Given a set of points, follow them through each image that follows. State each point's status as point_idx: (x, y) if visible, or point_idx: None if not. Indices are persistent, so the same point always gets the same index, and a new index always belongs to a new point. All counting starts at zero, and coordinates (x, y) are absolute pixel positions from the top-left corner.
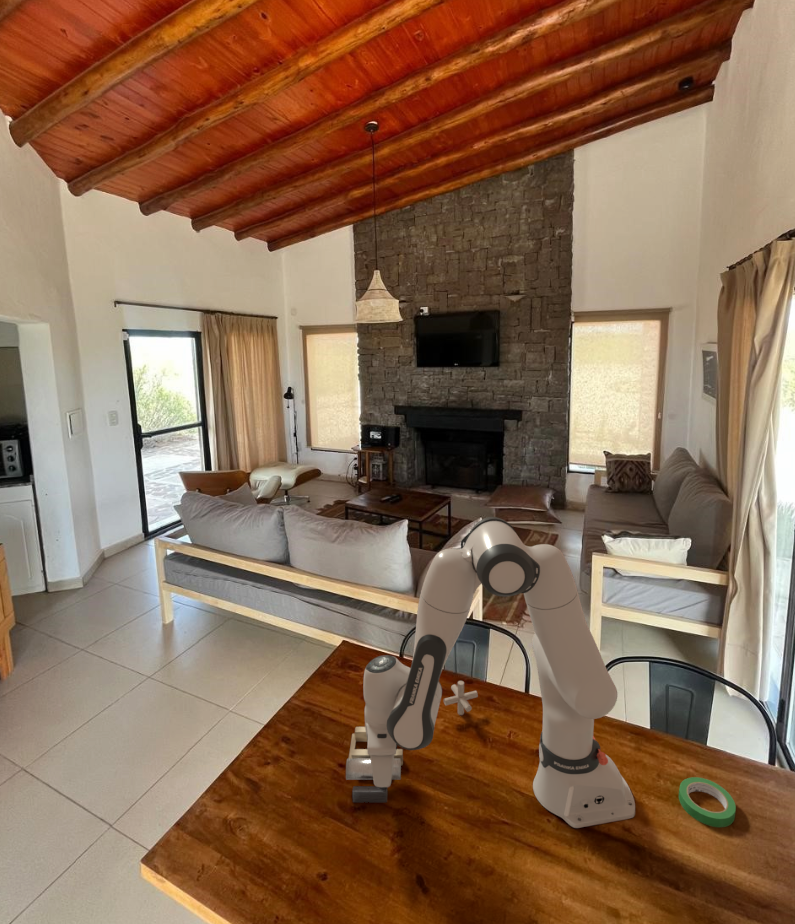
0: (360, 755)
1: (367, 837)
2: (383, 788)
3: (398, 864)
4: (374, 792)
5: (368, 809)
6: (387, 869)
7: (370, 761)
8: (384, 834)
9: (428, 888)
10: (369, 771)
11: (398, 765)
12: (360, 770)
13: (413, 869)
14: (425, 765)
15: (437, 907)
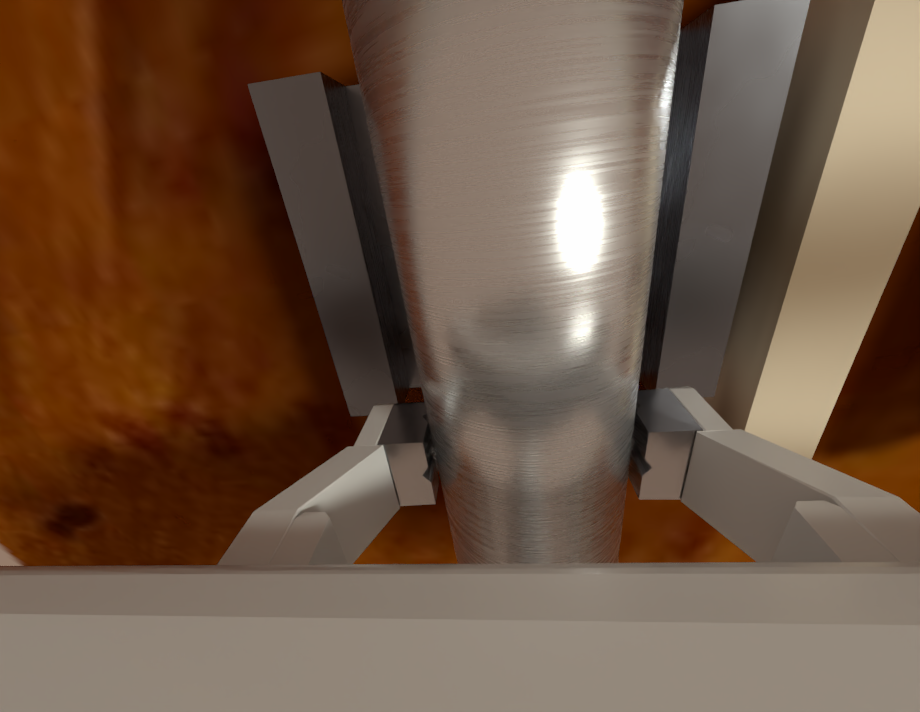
0: (858, 42)
1: (113, 287)
2: (378, 391)
3: (82, 447)
4: (324, 326)
5: (296, 256)
6: (30, 408)
7: (524, 332)
8: (180, 376)
9: (71, 536)
10: (408, 306)
11: None
12: (382, 159)
13: (100, 496)
14: (657, 529)
15: (35, 556)
